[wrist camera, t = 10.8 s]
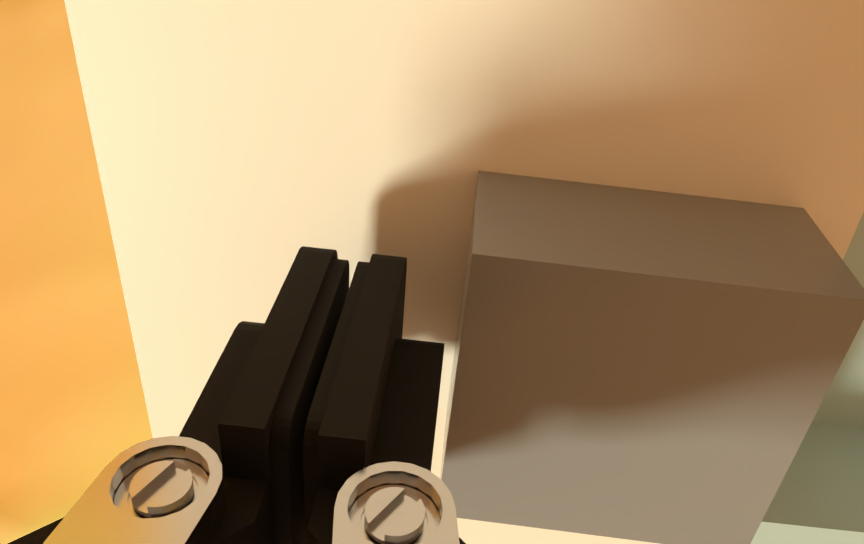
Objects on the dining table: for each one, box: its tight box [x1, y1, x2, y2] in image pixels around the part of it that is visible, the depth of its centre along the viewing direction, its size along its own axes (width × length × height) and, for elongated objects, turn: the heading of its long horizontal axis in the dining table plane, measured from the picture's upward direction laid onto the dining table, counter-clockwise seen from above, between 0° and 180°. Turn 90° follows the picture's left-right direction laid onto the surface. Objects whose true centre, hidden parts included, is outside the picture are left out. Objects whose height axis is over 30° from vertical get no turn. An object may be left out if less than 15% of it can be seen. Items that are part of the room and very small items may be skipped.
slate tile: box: [440, 171, 864, 544], centre depth 12 cm, size 5×5×2 cm
